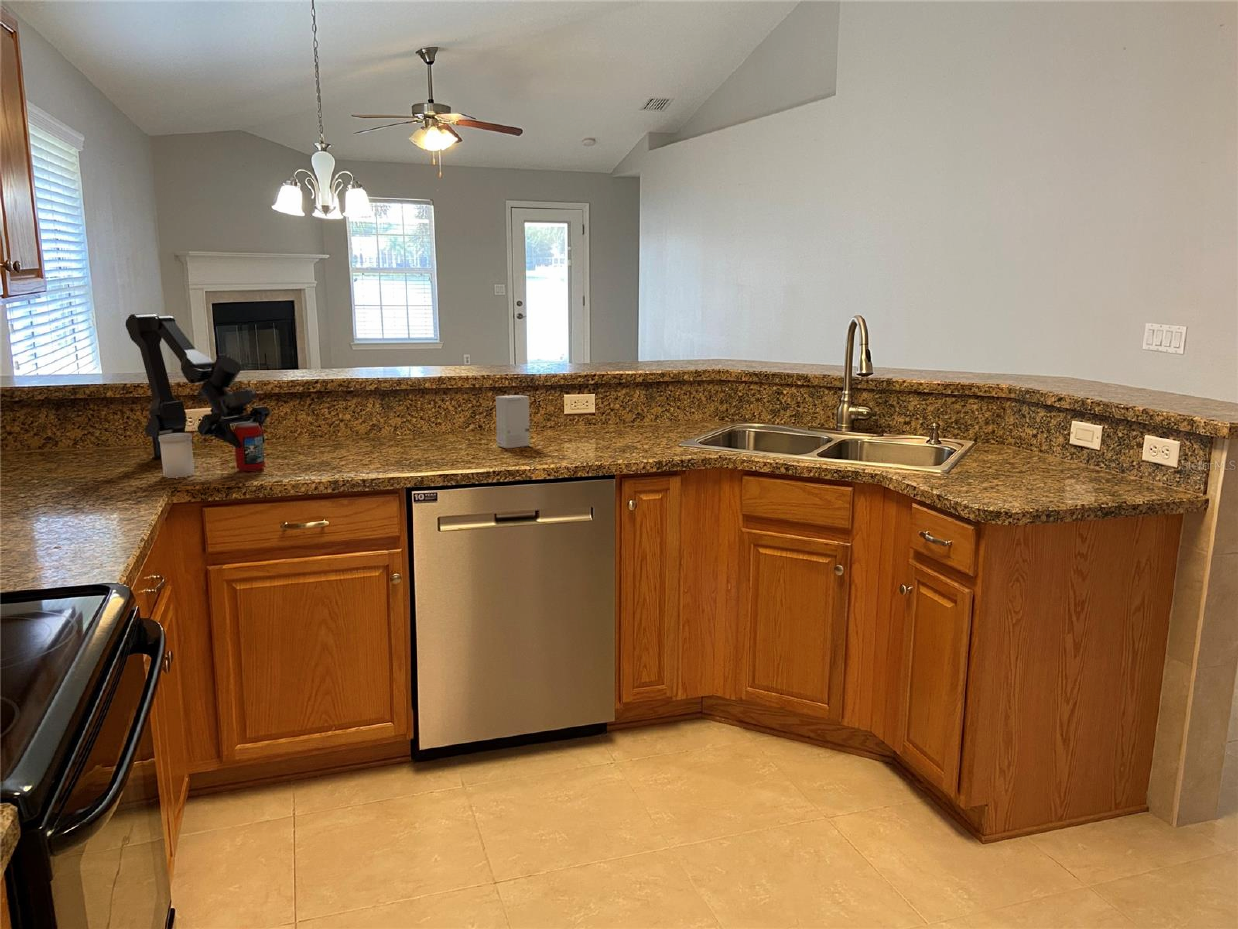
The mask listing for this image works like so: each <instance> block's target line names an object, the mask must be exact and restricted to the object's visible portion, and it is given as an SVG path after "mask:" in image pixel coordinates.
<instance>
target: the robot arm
mask: <svg viewBox="0 0 1238 929" xmlns="http://www.w3.org/2000/svg"><path fill="white" fill-rule="evenodd" d="M125 329H126V331H127V333H128V334H129V335H128V336H129V338H130V339H131V341H132V342H133V343H134V344H135V345H136V346H137V347H138V348H139V350H140V354H141V358H142V362H143V365H144V369H145V373H146V377H147V381H148V386H149V388H150V392H151V396H152V402H151V405H150V408H149V416H150V419H148V421H147V423H146V426H145V427H144V432H145V435H146V437H149V438H150V437H151V440H152V449H153V456H151V459H162V457H161V447H160V442H159V436H160V435H164V434H172V433H186V427H187V426H186V425H187V415H188V414H187V412H186V410H185V405H184V402H183V401H182V400H177V399H176V398H175V396H174V395H173V392H172V387H171V384H170V378H169V374H168V372H167V368H166V363H165V360H164V356H163V352H162V349H161V343H162V340H163V341H164V342H165V344H167V346H168V348H169V349H170V350H171V351H172V353H173V354H174V355H175V356H176V358H177V360H179V362H180V371H181V373H182V374H183V376H184V378H185V379H186V381H187V382H188V383H189V384H201V383H202V385H201V386H200V387H198V391H197V393H196V394H197V396H196V397H197V398H198V399H203V398H205V400H206V401H207V403H208V404H209V406H210V407H211V408H210V410H209V411H210V413H206V414H204V415H203V416H202V418H201V420H200V421H199V423H198V425H197V426H196V427H197V432H198V433H199V435H200V436H201V437H207V436H210V437H212V438H213V437H214V438H217V439H219V440H221V441H224V442H225V443H227V444H230V445H231V446H233V447H234V448H235V447H237V448H241V447H242V445H241V443H240V441H239V440H238V438H237V437H236V435H235V434H234V432H233V431H234V430H233V429H232V428H231V425H236V424H238V423H245V422H256V423H258V425H259V426H260V428H261V429H262V438H263V445H264V443H265V442H266V441H265V440H266V439H265V435H264V432H263V427H262V426H263V425H264V424H265V423H266V421H267V420H268V418H269V417H270V415H271V414H272V411H271V410H270V409H269V407H268V406H267V405H260V406H254V407H252V408H251V410H250V411H249V413H244V412H245V411H247V408H248V407H247V405H249V404H252V403H254V401H255V400H256V399H257V397H258V396H257V393H256V391H255V390H254V389H253V388H252V387H249V388H245V389H244V390H237V391H234V392H232V393H231V392H230V391H229V389H228V388H230V387H232V386H233V384H234V382H235V381H236V379H237V377H238V376H239V374H240V372H241V371H242V365H241V364H240V362H238V361H237V360H235V359H233V358H231V357H228V356H227V355H226V354H224V353H222V354H217V356H216V358H215V361H213V359H211V358H210V357H209V356H208V355H206V354H204V353H202V352H200V351H198V350H197V349H196V348H195V346H194V345H193V343H192V342H191V341H190V340H189V339H188V337H187V336H186V334H185V333H184V332H183V330H181V328H180V327H179V326H178V325H177V322H176V320H175V318H174V317H173V316H172V315H169V314H167V315H157V314H156V313H135V314H134V313H132V314H130V315H129V316H128V317H127V318H126V320H125Z"/></svg>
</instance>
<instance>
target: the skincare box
mask: <svg viewBox="0 0 1238 929" xmlns="http://www.w3.org/2000/svg"><path fill="white" fill-rule="evenodd" d="M495 414H496V419H495V420H496V422H495V423H496V446H498V447H500V448H504V449H507V450H509V449H513V448H515V449H516V448H520V447H529V446H531V445H530V396H527V395H521V394H517V395H516V394H515V395H514V394H512V395H498V396H497V395H496V396H495Z"/></svg>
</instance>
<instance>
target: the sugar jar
mask: <svg viewBox="0 0 1238 929" xmlns="http://www.w3.org/2000/svg"><path fill="white" fill-rule="evenodd" d="M192 436H193V435H192V433H189V432H185V433H172V434H164V435H160V436H159V442H160V447H161V457H162V458H161V464H162V473H163V478H164V477H168V478H167V479H169V478H176V477H185V476H190V477H193V476H195V475H194V473H195V466H194V455H193V445H192V439H193V437H192ZM192 475H193V476H192ZM185 478H186V477H185ZM176 479H177V478H176Z"/></svg>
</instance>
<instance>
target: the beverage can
mask: <svg viewBox="0 0 1238 929" xmlns="http://www.w3.org/2000/svg"><path fill="white" fill-rule="evenodd" d="M232 431H233V432H234V434H235V435H236V437H237V438H238V440H239V441H240V443H241V445H242V447H241V448H237V447H235V446H234V453H235V464H236V469H238V470H239V471H241V472H244V471H252V472H256V471H255V470H258V471H260V470H259V469H261V470H262V469H263V468H264V467H265V466H266V465H265V453H264V444H263V438H262V431H263V428H262V429H261V428H260V426H259V425H258V423H256V422H244V423H238V424H235V427H234V429H233V430H232Z"/></svg>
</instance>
